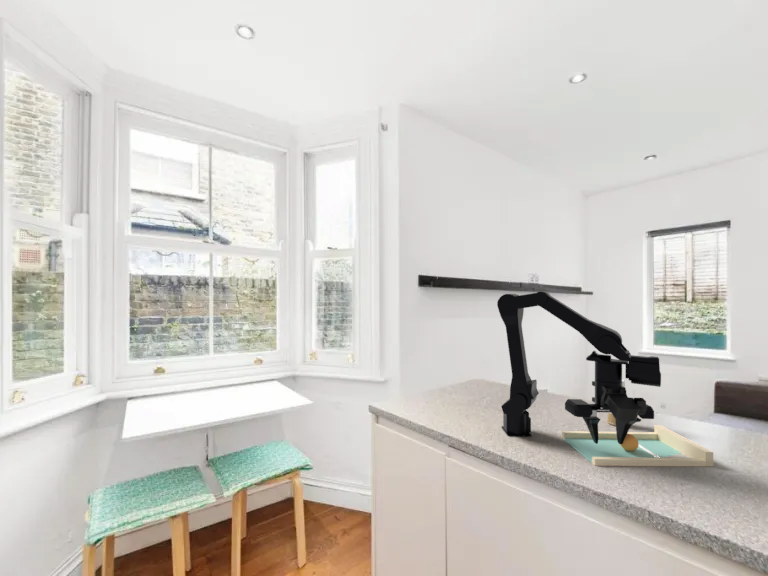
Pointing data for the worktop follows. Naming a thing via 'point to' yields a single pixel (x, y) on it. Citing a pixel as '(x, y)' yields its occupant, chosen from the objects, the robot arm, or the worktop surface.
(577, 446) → the lane
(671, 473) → the worktop surface
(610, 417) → the sprinkles bottle
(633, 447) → the ball
